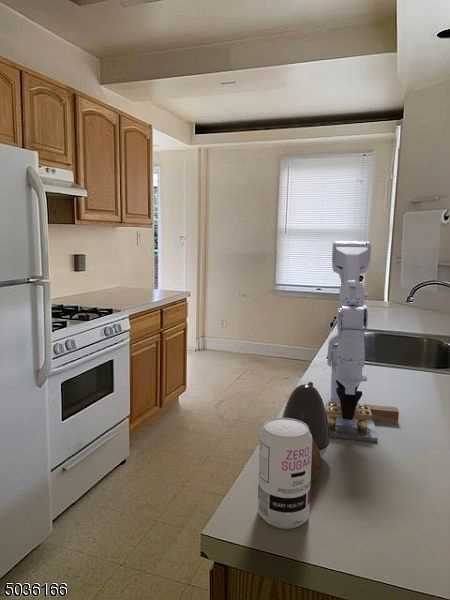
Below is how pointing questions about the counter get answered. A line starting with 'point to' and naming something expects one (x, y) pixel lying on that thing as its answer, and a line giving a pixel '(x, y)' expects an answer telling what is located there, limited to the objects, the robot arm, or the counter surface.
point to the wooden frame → (357, 414)
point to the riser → (384, 413)
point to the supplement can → (284, 472)
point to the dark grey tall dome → (309, 413)
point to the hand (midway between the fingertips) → (347, 414)
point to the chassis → (352, 428)
